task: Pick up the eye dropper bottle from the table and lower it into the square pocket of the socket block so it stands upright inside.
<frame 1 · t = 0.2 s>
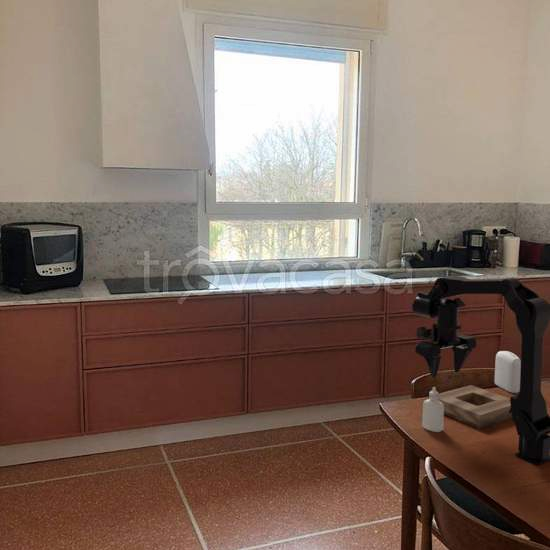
hand: (445, 374, 169), 14 cm above the table, tool pointing down, fingers open, 9 cm apart
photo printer: (506, 388, 199), on the table
eye dropper bottle: (432, 429, 166), on the table
socket block: (474, 411, 179), on the table
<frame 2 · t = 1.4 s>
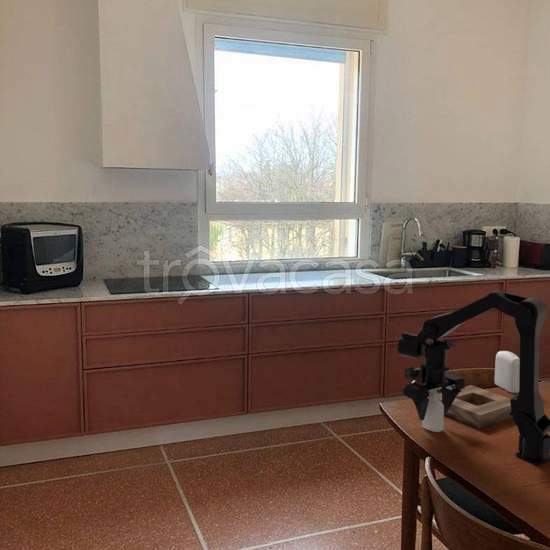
hand: (433, 416, 166), 4 cm above the table, tool pointing down, fingers closed on eye dropper bottle, 9 cm apart
eye dropper bottle: (432, 429, 166), on the table, touching gripper
everything else where it was.
when the fingers open (6 cm above the table, at t = 7.3 s): eye dropper bottle drops 2 cm, resting on socket block.
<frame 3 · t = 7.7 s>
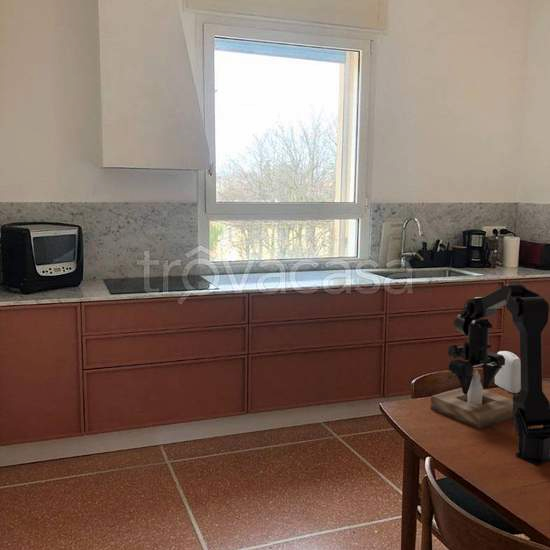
hand: (475, 391, 178), 6 cm above the table, tool pointing down, fingers open, 9 cm apart
eye dropper bottle: (474, 409, 178), point 1 cm above the table, touching socket block
everything else where it was.
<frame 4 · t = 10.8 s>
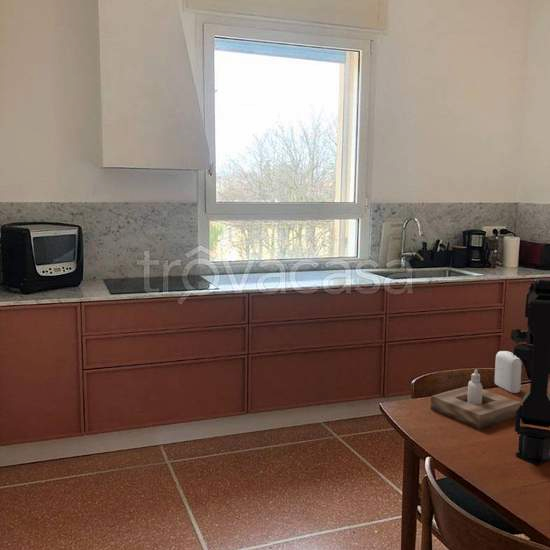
hand: (540, 376, 170), 13 cm above the table, tool pointing down, fingers open, 9 cm apart
nothing on the table moved.
at the end: eye dropper bottle 0.2 cm off-centre on the socket block, point 0.8 cm above the socket block's base; eye dropper bottle tilted 0°; the gripper is holding nothing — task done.
